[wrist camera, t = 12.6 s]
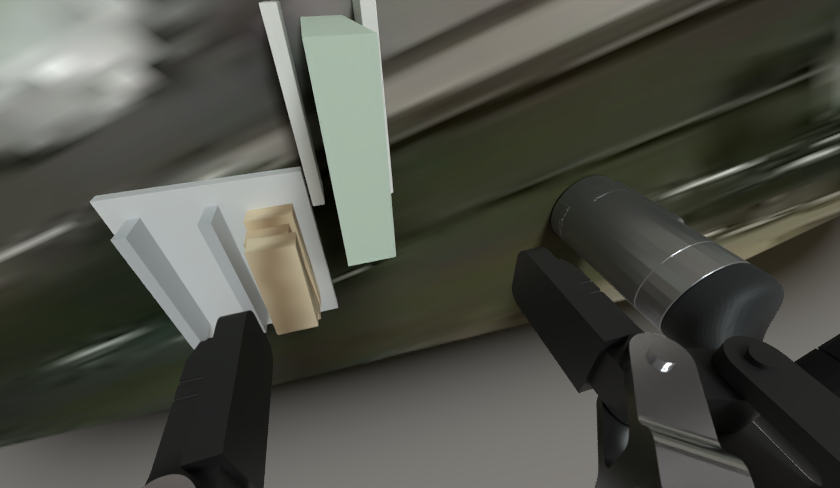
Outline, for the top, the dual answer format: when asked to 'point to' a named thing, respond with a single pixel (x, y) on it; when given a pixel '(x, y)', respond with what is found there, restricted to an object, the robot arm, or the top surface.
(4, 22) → the top surface
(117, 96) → the top surface
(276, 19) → the white stand
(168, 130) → the top surface
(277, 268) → the offcut stack
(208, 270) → the grey rack
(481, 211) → the top surface
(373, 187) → the sage board
